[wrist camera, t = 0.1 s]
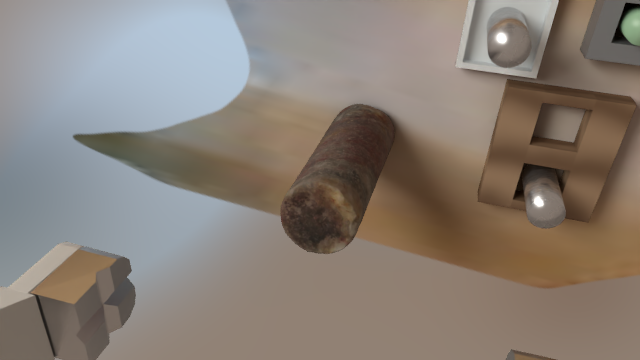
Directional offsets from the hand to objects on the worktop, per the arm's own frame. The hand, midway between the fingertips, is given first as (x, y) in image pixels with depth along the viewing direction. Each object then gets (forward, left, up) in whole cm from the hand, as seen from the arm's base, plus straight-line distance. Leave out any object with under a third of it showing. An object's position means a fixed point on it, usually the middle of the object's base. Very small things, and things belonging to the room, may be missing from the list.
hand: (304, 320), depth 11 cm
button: (+2, +18, -46) cm, 50 cm away
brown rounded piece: (+18, -6, -48) cm, 52 cm away
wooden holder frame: (+17, +15, -48) cm, 53 cm away
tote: (+4, +7, -48) cm, 49 cm away
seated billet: (+20, +15, -48) cm, 54 cm away
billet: (+4, +7, -48) cm, 48 cm away
